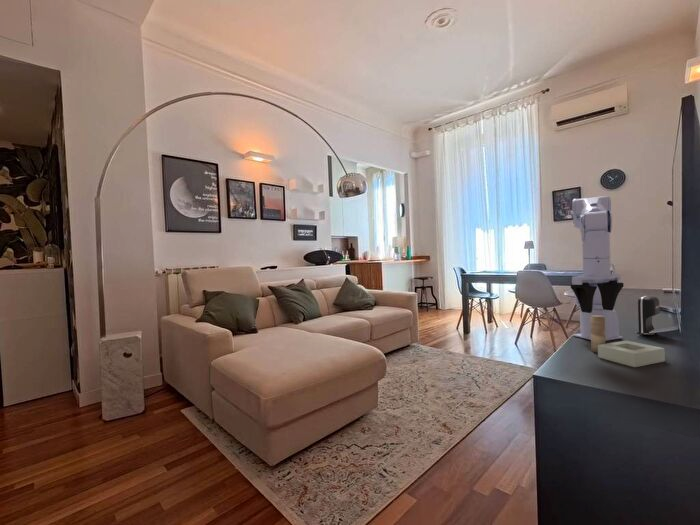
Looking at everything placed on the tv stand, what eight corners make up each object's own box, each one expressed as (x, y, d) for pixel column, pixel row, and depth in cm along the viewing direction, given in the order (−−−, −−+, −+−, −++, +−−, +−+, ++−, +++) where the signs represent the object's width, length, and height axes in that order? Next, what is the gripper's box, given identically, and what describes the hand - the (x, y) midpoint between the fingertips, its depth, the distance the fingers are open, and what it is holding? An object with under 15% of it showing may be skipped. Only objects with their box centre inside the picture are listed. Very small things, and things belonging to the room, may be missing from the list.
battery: (655, 337, 97) (654, 298, 97) (638, 335, 100) (637, 297, 100) (661, 333, 101) (660, 295, 101) (645, 331, 104) (644, 295, 104)
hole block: (626, 352, 85) (626, 340, 84) (664, 361, 77) (664, 348, 77) (598, 357, 82) (597, 345, 81) (634, 367, 74) (634, 353, 74)
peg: (596, 348, 88) (595, 314, 88) (608, 351, 85) (607, 316, 85) (588, 350, 87) (587, 316, 87) (600, 353, 84) (599, 317, 84)
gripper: (590, 259, 80) (592, 316, 80) (633, 257, 84) (634, 310, 85) (563, 259, 87) (565, 311, 87) (604, 257, 91) (605, 307, 91)
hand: (597, 311), depth 86 cm, fingers open, 7 cm apart
